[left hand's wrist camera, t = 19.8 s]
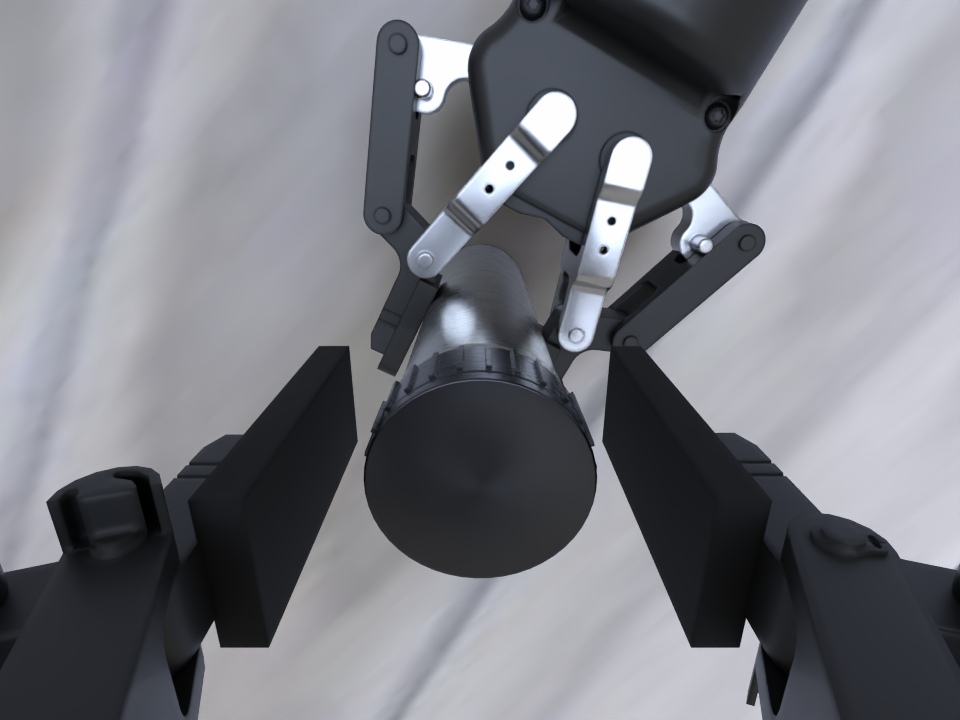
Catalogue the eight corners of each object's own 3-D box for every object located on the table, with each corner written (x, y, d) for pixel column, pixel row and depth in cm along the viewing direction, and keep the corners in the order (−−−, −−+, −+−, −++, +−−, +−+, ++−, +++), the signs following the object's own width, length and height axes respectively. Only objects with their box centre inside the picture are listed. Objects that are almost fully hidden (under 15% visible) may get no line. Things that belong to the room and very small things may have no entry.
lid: (616, 377, 11) (639, 416, 10) (541, 546, 13) (551, 604, 11) (407, 313, 11) (394, 342, 9) (355, 496, 12) (336, 550, 11)
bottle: (421, 271, 25) (339, 430, 11) (497, 227, 25) (522, 333, 10) (464, 342, 27) (445, 573, 12) (537, 302, 26) (614, 496, 11)
